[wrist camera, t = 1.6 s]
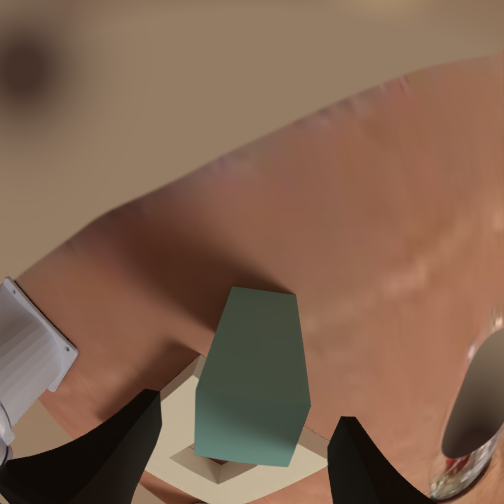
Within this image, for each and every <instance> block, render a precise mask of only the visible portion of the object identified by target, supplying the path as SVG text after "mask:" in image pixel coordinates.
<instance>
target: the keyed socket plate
mask: <svg viewBox="0 0 504 504" xmlns="http://www.w3.org/2000/svg"><path fill="white" fill-rule="evenodd" d="M206 359H207V358H205V357H204V356H203V355H201V354H200V355H199V356H198V357H197V358H196V359H195V360H194V361H193V362H192V363H191V364H190V365H188V366H187V367H186V368H185V369H184V370H183V371H182V372H181V373H180V374H179V375H177V376H176V377H175V378H174V379H173V380H172V381H171V382H170V383H169V384H167V385H166V386H165V387H164V388H163V389H162V390H161V391H160V399H161V413H162V428H161V431H160V434H159V438H158V441H157V444H156V446H155V448H154V451H153V453H152V455H151V457H150V459H149V461H148V463H147V465H146V467H145V470H146V471H148V472H149V473H151V474H153V475H154V476H156V477H158V478H160V479H161V480H163V481H165V482H167V483H169V484H170V485H172V486H174V487H176V488H178V489H180V490H182V491H184V492H186V493H188V494H190V495H192V496H194V497H196V498H198V499H200V500H202V501H204V502H207V503H209V504H245V503H248V502H250V501H253V500H255V499H258V498H260V497H263V496H265V495H268V494H270V493H272V492H275V491H277V490H279V489H282V488H284V487H286V486H288V485H290V484H292V483H295V482H297V481H299V480H301V479H303V478H305V477H307V476H309V475H311V474H313V473H315V472H317V471H318V470H320V469H322V468H324V467H326V466H328V463H327V446H328V444H329V442H330V441H328V440H326V439H325V438H323V437H321V436H320V435H318V434H316V433H315V432H313V431H311V430H310V429H308V428H306V427H305V426H304V427H303V429H302V432H301V435H300V438H299V440H298V443H297V446H296V448H295V451H294V454H293V456H292V459H291V461H290V464H289V466H288V467H277V466H266V465H256V464H247V463H240V462H232V461H229V462H227V463H225V464H223V465H220V464H218V463H216V462H215V461H213V460H211V459H209V458H207V457H203V456H198V455H194V449H192V448H190V447H189V445H191V444H193V443H194V430H195V390H196V387H197V384H198V381H199V379H200V376H201V373H202V370H203V367H204V364H205V361H206Z"/></svg>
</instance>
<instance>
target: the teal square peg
mask: <svg viewBox="0 0 504 504" xmlns="http://www.w3.org/2000/svg"><path fill="white" fill-rule="evenodd" d="M310 406H311V402H310V394H309V386H308V378H307V370H306V362H305V355H304V348H303V340H302V333H301V326H300V319H299V313H298V306H297V299H296V295H293V294H286V293H278V292H271V291H264V290H257V289H250V288H243V287H236V286H232V288H231V291H230V294H229V297H228V299H227V302H226V305H225V308H224V311H223V313H222V316H221V319H220V322H219V325H218V328H217V330H216V333H215V336H214V339H213V342H212V344H211V347H210V350H209V353H208V356H207V359H206V361H205V364H204V367H203V370H202V373H201V376H200V379H199V381H198V384H197V387H196V390H195V430H194V455H198V456H203V457H208V458H214V459H220V460H226V461H232V462H240V463H247V464H256V465H266V466H277V467H288V466H289V464H290V461H291V459H292V456H293V454H294V451H295V448H296V446H297V443H298V440H299V438H300V435H301V432H302V429H303V427H304V424H305V421H306V418H307V415H308V412H309V409H310Z"/></svg>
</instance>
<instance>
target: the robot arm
mask: <svg viewBox="0 0 504 504" xmlns="http://www.w3.org/2000/svg"><path fill="white" fill-rule="evenodd" d="M77 356H78V351H77V349H76V348H75V347H74V346H73V345H72V344H71V343H70V342H69V341H68V340H67V339H66V338H65V337H64V336H63V335H62V334H61V333H60V332H59V331H58V330H57V329H56V328H55V327H54V326H53V325H52V324H51V323H50V322H49V321H48V320H47V319H46V318H45V317H44V316H43V315H42V314H41V312H40V311H39V310H38V309H37V308H36V307H35V306H34V305H33V304H32V302H31V301H30V300H29V299H28V298H27V297H26V296H25V294H24V293H23V292H22V291H21V290H20V289H19V287H18V286H17V285H16V284H15V282H14V281H13V280H12V279H11V278H10V277H6V278H5V279H4V282H3V284H1V285H0V494H1V495H2V496H3V497H4V498H5V499H6V500H7V501H8V502H9V504H131V501H132V498H133V494H134V491H135V489H136V487H137V484H138V482H139V480H140V478H141V476H142V474H143V472H144V470H145V467H146V465H147V463H148V461H149V459H150V457H151V455H152V453H153V451H154V448H155V446H156V444H157V441H158V438H159V434H160V431H161V428H162V413H161V399H160V392H158V391H154V390H150V389H144V390H143V391H142V392H140V393H139V394H138V395H137V396H136V397H135V398H134V399H133V400H131V401H130V402H129V403H128V404H127V405H126V406H124V407H123V408H122V409H121V410H119V411H118V412H117V413H116V414H114V415H113V416H112V417H111V418H109V419H108V420H106V421H105V422H103V423H102V424H101V425H99V426H98V427H96V428H95V429H93V430H91V431H90V432H88V433H87V434H85V435H83V436H81V437H79V438H77V439H75V440H73V441H71V442H69V443H67V444H65V445H63V446H60V447H58V448H55V449H52V450H49V451H46V452H43V453H40V454H36V455H33V456H29V457H23V458H17V459H13V451H12V448H11V446H10V443H11V442H12V441H13V440H14V438H15V435H14V434H13V433H12V431H11V428H12V427H13V426H14V425H15V424H16V422H17V421H18V420H19V419H20V418H21V417H22V415H23V414H24V413H25V412H26V411H27V410H28V409H29V408H30V406H31V405H32V404H33V403H34V402H35V401H36V400H37V399H38V397H39V396H40V395H41V394H42V393H43V392H44V391H45V390H46V389H48V390H50V391H51V392H55V390H56V389H57V387H58V386H59V384H60V382H61V381H62V379H63V378H64V376H65V374H66V373H67V371H68V370H69V368H70V366H71V365H72V363H73V362H74V360H75V359H76V357H77ZM327 463H328V474H329V480H330V486H331V493H332V499H333V504H437V503H436V502H434V501H433V500H431V499H430V498H428V497H427V496H425V495H424V494H423V493H421V492H420V491H419V490H417V489H416V488H415V487H414V486H412V485H411V484H410V483H409V482H408V481H407V480H406V479H405V478H404V477H402V476H401V475H400V474H399V473H398V472H397V471H396V469H395V468H394V467H393V466H392V465H391V464H390V463H389V462H388V460H387V459H386V458H385V457H384V455H383V454H382V453H381V452H380V450H379V449H378V448H377V446H376V445H375V444H374V442H373V441H372V440H371V438H370V437H369V435H368V434H367V433H366V431H365V430H364V428H363V427H362V425H361V424H360V423H359V421H358V420H357V418H356V417H346V416H341V418H340V420H339V422H338V425H337V427H336V429H335V431H334V434H333V436H332V438H331V440H330V442H329V444H328V446H327ZM0 504H1V503H0Z"/></svg>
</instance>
